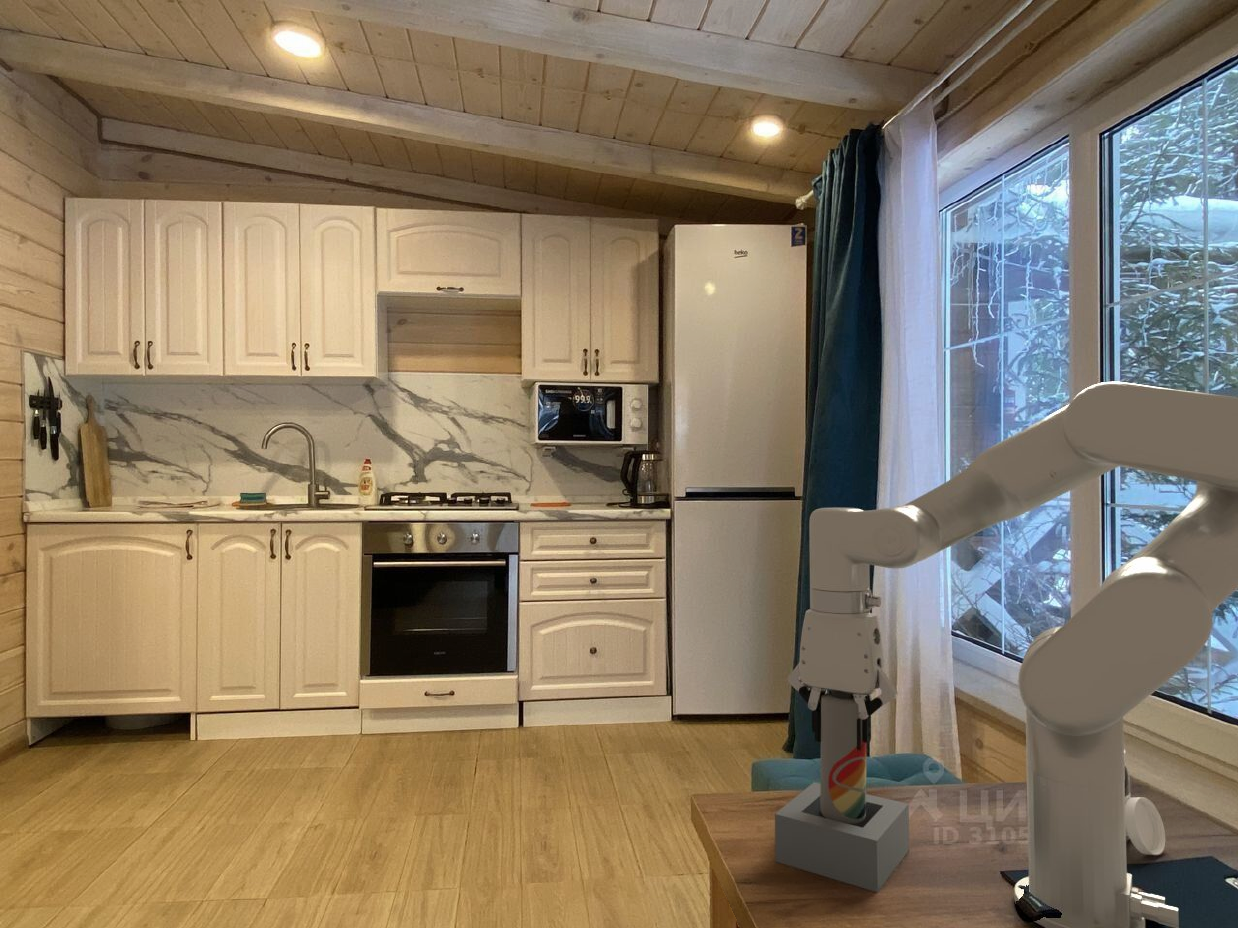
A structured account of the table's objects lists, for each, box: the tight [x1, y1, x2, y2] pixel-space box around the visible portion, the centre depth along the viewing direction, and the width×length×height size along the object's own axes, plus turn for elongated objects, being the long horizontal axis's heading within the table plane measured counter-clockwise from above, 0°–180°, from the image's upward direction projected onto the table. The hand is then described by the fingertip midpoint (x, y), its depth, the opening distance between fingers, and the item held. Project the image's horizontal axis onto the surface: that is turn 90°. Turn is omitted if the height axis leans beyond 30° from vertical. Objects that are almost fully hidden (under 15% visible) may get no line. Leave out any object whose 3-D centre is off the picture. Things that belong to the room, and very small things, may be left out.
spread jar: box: [1124, 749, 1166, 856], centre depth 105 cm, size 12×11×12 cm
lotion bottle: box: [819, 690, 867, 824], centre depth 101 cm, size 6×6×20 cm
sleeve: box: [774, 781, 910, 893], centre depth 100 cm, size 13×13×6 cm
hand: (841, 741), depth 101 cm, fingers closed on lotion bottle, 4 cm apart
